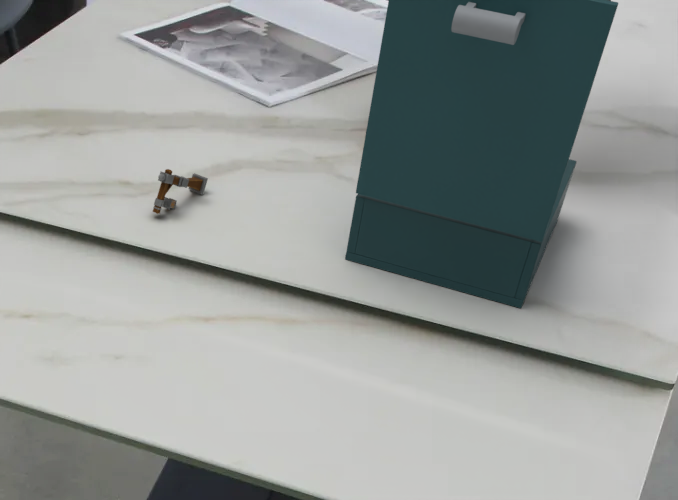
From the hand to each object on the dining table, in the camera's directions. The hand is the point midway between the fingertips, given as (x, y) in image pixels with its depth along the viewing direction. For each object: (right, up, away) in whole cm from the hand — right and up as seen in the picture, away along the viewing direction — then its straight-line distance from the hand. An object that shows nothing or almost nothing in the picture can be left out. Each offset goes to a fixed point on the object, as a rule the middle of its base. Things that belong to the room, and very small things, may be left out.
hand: (556, 19), depth 107 cm
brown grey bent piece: (-39, -19, +3) cm, 43 cm away
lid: (-13, -16, -18) cm, 27 cm away
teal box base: (-10, -23, +1) cm, 25 cm away
